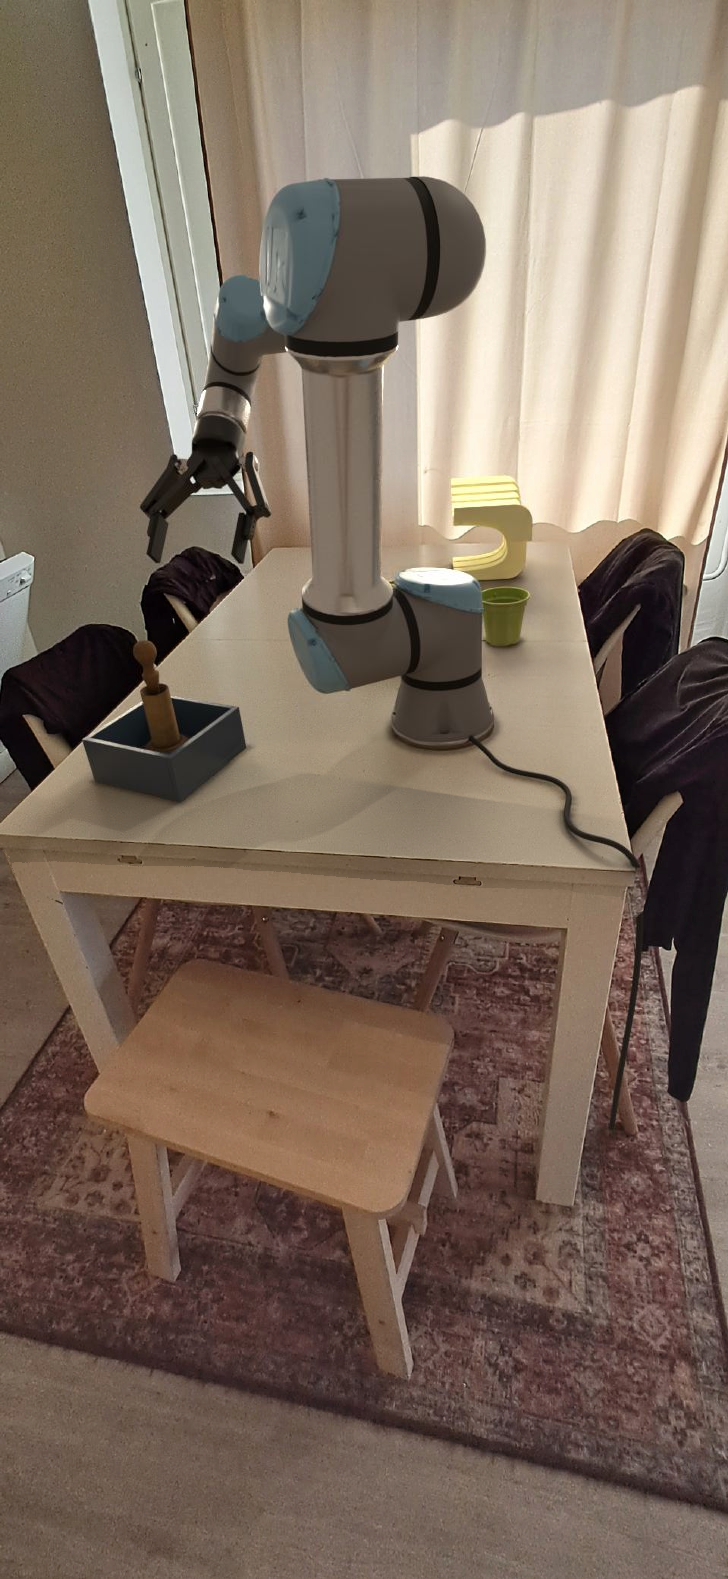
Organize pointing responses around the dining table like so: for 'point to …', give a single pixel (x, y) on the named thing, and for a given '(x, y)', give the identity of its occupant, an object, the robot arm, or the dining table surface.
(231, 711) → the tub
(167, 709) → the mortar and pestle
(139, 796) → the dining table surface
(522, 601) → the plant pot
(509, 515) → the slatted curved stool
